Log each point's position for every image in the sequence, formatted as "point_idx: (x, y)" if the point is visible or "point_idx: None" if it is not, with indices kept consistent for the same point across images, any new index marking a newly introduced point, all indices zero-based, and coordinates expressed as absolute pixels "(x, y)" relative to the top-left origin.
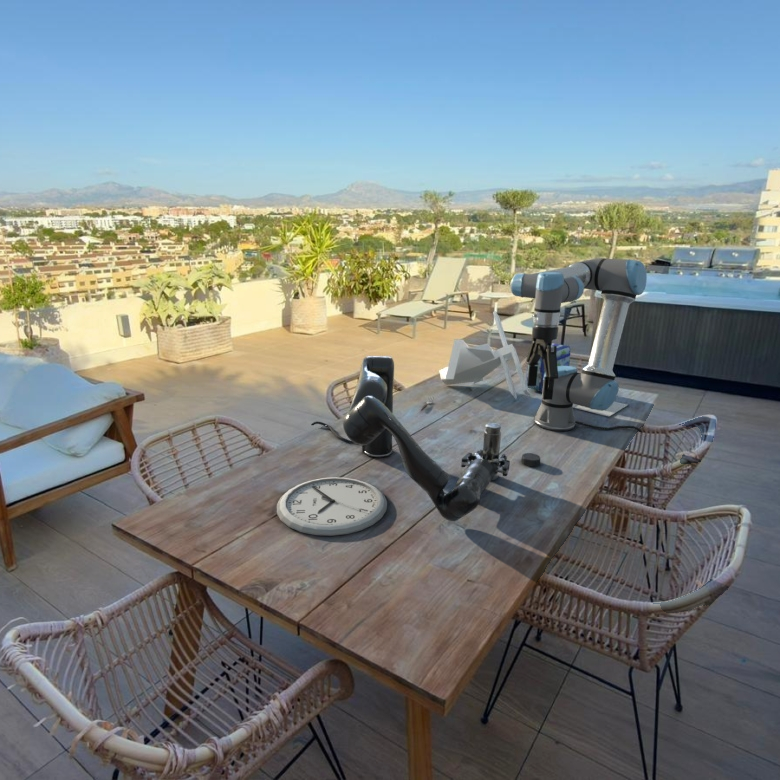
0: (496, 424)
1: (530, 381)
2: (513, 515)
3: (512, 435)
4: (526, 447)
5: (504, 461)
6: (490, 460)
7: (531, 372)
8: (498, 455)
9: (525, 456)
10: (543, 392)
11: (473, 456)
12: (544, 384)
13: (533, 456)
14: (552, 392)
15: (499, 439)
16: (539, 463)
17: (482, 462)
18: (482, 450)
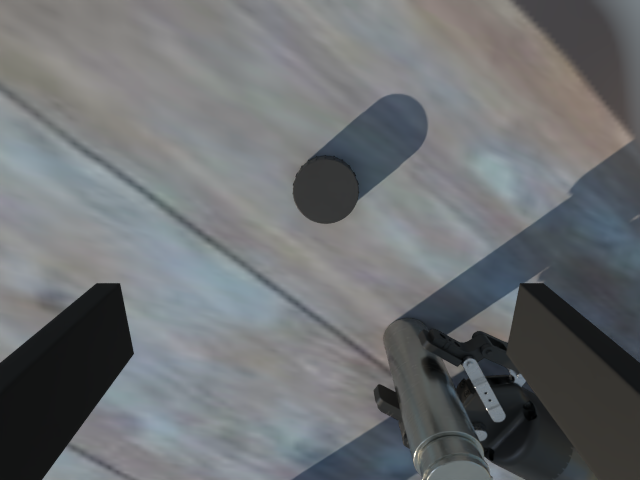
0: (452, 473)
1: (107, 365)
2: (621, 336)
3: (68, 168)
4: (186, 153)
5: (476, 356)
6: (493, 411)
7: (37, 449)
8: (444, 371)
9: (322, 212)
10: (546, 398)
11: None
12: (612, 477)
13: (324, 183)
14: (587, 324)
15: (468, 420)
16: (344, 162)
17: (550, 461)
18: (385, 400)
